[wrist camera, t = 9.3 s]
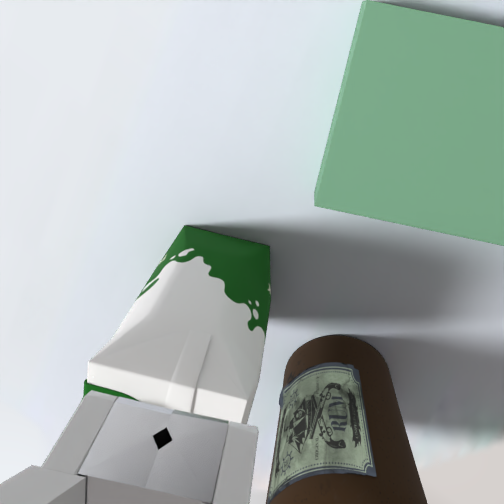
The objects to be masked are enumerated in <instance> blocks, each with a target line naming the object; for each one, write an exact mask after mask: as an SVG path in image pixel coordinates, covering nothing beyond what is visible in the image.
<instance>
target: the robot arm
mask: <svg viewBox="0 0 504 504" xmlns="http://www.w3.org/2000/svg"><path fill="white" fill-rule="evenodd" d="M228 424H229V425H228ZM227 429H228V430H227ZM258 433H259V431H258V427H256V426H251V425H247V424H242V423H237V422H232V421H230V422H229V421H228V420H223V419H218V418H213V417H209V416H204V415H199V414H194V413H189V412H184V411H180V410H175V409H174V410H172V409H168V408H164V407H160V406H156V405H152V404H148V403H144V402H140V401H136V400H132V399H127V398H123V397H117V396H113V395H109V394H105V393H101V392H97V391H93V390H91V391H90V392H89V393H88V394H86V395H85V396H84V398H83V399H82V401H81V403H80V404H79V406H78V407H77V409H76V411H75V412H74V414H73V416H72V417H71V419H70V421H69V422H68V424H67V425H66V427H65V429H64V430H63V432H62V434H61V435H60V437H59V439H58V440H57V442H56V443H55V445H54V447H53V448H52V450H51V452H50V453H49V455H48V456H47V458H46V460H45V461H44V463H43V465H42V466H41V467H39V466H34V465H31V466H30V467H28V468H26V469H25V470H23V471H21V472H20V473H18V474H16V475H15V476H13V477H11V478H9V479H8V480H6V481H4V482H3V483H1V484H0V504H249V501H250V494H251V487H252V479H253V471H254V464H255V456H256V448H257V441H258ZM226 434H227V435H226ZM223 448H224V449H223ZM222 453H223V454H222ZM221 458H222V459H221Z"/></svg>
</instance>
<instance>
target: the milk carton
mask: <svg viewBox="0 0 504 504" xmlns="http://www.w3.org/2000/svg"><path fill="white" fill-rule="evenodd" d="M270 302H271V280H270V246H268V245H263V244H259V243H255V242H251V241H247V240H243V239H239V238H235V237H230V236H226V235H222V234H218V233H214V232H210V231H206V230H202V229H197V228H193V227H189V226H185V225H184V227H183V228H182V230H181V231H180V233H179V234H178V236H177V237H176V239H175V241H174V242H173V244H172V245H171V247H170V248H169V250H168V251H167V253H166V254H165V256H164V257H163V258H162V260H161V262H160V263H159V265H158V266H157V268H156V269H155V271H154V272H153V274H152V276H151V277H150V279H149V280H148V282H147V283H146V285H145V287H144V288H143V290H142V291H141V293H140V295H139V296H138V298H137V299H136V301H135V302H134V304H133V306H132V307H131V309H130V310H129V312H128V314H127V315H126V317H125V318H124V320H123V321H122V323H121V325H120V326H119V328H118V329H117V331H116V332H115V334H114V336H113V337H112V339H111V340H110V341H109V342H108V343H107V344H106V345H105V346H103V347H102V348H101V349H100V350H99V351H98V352H97V353H96V354H95V355H94V356H93V357H92V358H91V359H90V360H89V361H88V373H87V379H86V380H85V381H84V396H85V395H86V394H88V393H89V392H90V391H91V390H93V391H97V392H101V393H105V394H109V395H113V396H117V397H123V398H127V399H132V400H136V401H140V402H144V403H148V404H152V405H156V406H160V407H164V408H168V409H172V410H174V409H175V410H180V411H184V412H189V413H194V414H199V415H204V416H209V417H213V418H218V419H223V420H228V421H229V422H230V421H232V422H237V423H242V424H247V421H248V418H249V414H250V411H251V407H252V404H253V400H254V397H255V393H256V390H257V386H258V382H259V378H260V371H261V365H262V358H263V351H264V344H265V338H266V331H267V324H268V317H269V310H270ZM84 396H83V398H84ZM83 398H82V399H83ZM81 401H82V400H81ZM228 425H229V424H228ZM227 430H228V429H227ZM226 435H227V434H226ZM223 449H224V448H223ZM222 454H223V453H222ZM221 459H222V458H221Z"/></svg>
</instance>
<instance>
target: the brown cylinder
mask: <svg viewBox="0 0 504 504" xmlns="http://www.w3.org/2000/svg"><path fill="white" fill-rule="evenodd" d="M281 391H282V392H281V394H280V398H279V405H280V414H279V421H278V428H277V435H276V441H275V448H274V455H273V462H272V468H271V474H270V481H269V487H268V493H267V500H266V504H427V500H426V497H425V494H424V490H423V487H422V484H421V481H420V478H419V474H418V471H417V468H416V464H415V461H414V457H413V454H412V451H411V447H410V444H409V440H408V437H407V434H406V430H405V427H404V423H403V420H402V416H401V413H400V409H399V406H398V402H397V398H396V394H395V391H394V387H393V383H392V379H391V375H390V372H389V369H388V366H387V364H386V362H385V360H384V358H383V357H382V355H381V354H380V353H379V352H378V351H377V350H376V349H375V348H373V347H372V346H371V345H369V344H367V343H366V342H363V341H361V340H359V339H356V338H352V337H348V336H325V337H320V338H317V339H314V340H311V341H309V342H307V343H305V344H304V345H302V346H301V347H299V348H298V349H297V350H296V351H295V352H294V353H293V354H292V356H291V357H290V359H289V361H288V363H287V365H286V369H285V374H284V381H283V389H282V390H281Z"/></svg>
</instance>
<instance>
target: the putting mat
mask: <svg viewBox="0 0 504 504" xmlns="http://www.w3.org/2000/svg"><path fill="white" fill-rule="evenodd" d="M314 201H315V206H317V207H322V208H326V209H331V210H336V211H341V212H345V213H350V214H355V215H360V216H364V217H369V218H374V219H379V220H383V221H388V222H393V223H398V224H402V225H407V226H412V227H417V228H421V229H426V230H431V231H436V232H440V233H445V234H450V235H455V236H459V237H464V238H469V239H473V240H478V241H483V242H488V243H492V244H497V245H502V246H504V27H500V26H495V25H490V24H485V23H480V22H475V21H470V20H465V19H460V18H455V17H450V16H445V15H440V14H435V13H430V12H425V11H420V10H415V9H410V8H405V7H400V6H395V5H390V4H385V3H380V2H375V1H370V0H366V1H363V2H362V5H361V9H360V13H359V17H358V21H357V25H356V29H355V33H354V37H353V41H352V45H351V49H350V53H349V57H348V61H347V65H346V69H345V73H344V77H343V81H342V85H341V89H340V93H339V97H338V101H337V105H336V108H335V112H334V116H333V120H332V124H331V128H330V132H329V136H328V140H327V144H326V148H325V152H324V156H323V160H322V164H321V168H320V172H319V176H318V180H317V184H316V188H315V192H314Z"/></svg>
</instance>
